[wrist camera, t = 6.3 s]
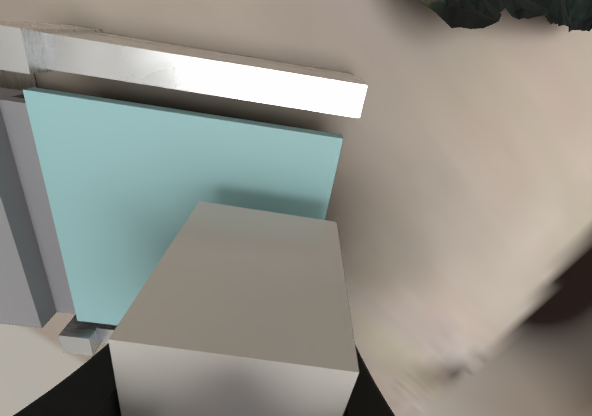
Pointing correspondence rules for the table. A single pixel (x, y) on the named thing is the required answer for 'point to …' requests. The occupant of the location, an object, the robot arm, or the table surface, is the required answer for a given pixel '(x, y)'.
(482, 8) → the decorative rock
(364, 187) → the table surface
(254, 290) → the stone block
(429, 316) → the table surface
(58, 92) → the trapdoor
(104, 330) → the frame
